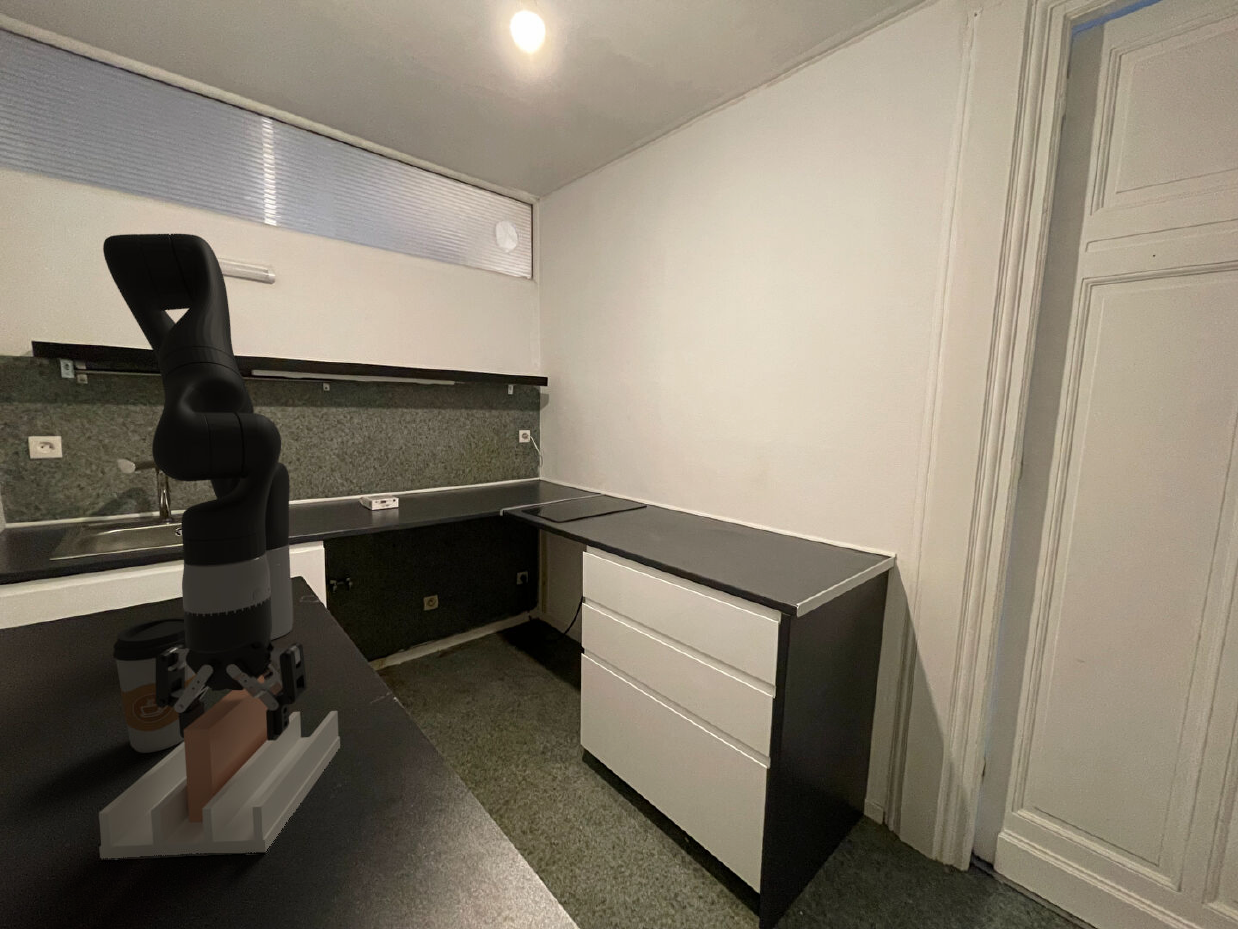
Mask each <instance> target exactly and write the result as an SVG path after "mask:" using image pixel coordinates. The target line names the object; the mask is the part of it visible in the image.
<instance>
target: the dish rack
mask: <svg viewBox="0 0 1238 929" xmlns="http://www.w3.org/2000/svg"><path fill="white" fill-rule="evenodd" d="M338 712H339V711H338V710H331V711H329V713H328V714H327V715H326V717H325V718H324V719H323V720H322V721H321V723H320V724H319V725H318V727H317V728H316V729H315V730H314V731H313V733H312V734H311V735H310V736H308V737H307V736H306V737H302V731H301V730H302V729H301V727H302V726H301V724H302V723H301V711H293V712H292V713H291V714H289V725H288V727H287V728H286V730H285V731H284V732H283V733H282V734H281V735H280V736H279V737H278V739H277V740H274V741H268V740H267V741H266V742H265V743H264V744H263V745H262V746H261V747H260V748H259V749H258V750H257V751H256V752H255V753H254V754H253V756H252V757H251V758H250V759H249V760H248V761H247V762H246V763H245V764H244V765H243V766H242V767H241V768H240V769H239V770H238V771H237V773H236V774H235V775H234V776H233V777H232V778H231V779H230V780H229V781H228V782H227V783H226V784H225V785H224V786H223V787H222V788H221V790H220V791H219V792H218V793H217V794H216V795H215V796H214V797H213V798H212V799H211V800H210V801H209V802H208V803H207V804H206V806H205V807H204V808H203V809H202V814H203V822H189V809H188V793H187V777H186V760H185V744H184V741H182V742H181V743H179V745H178V746H177V747H175V748H174V749H173V750H172V751H171V752H169V754H167V755H166V756H165V757H163V759H161V760H160V761H158V763H156V764H155V765H154V766H153V767H152V768H150V769H149V770H148V771H147V772H146V773H144V774H143V775H141V777H140V778H138V779H137V780H136V781H135V782H134V783H132V785H130V786H129V787H128V788H126V790H124V791H123V792H122V793H121V794H119V796H117V797H115V799H113V801H112V802H110V803H109V804H108V805H106V806H105V807H104V808H103V809H101V811H99V812H98V821H99V830H100V831H99V832H100V845H99V848H98V849H99V859H100V858H102V859H103V858H104V859H105V858H108V859H109V858H110V859H111V858H123V857H124V858H125V857H126V858H127V857H140V856H154V855H155V856H156V855H157V856H158V855H162V856H163V855H164V856H165V855H178V854H179V855H180V854H189V853H190V854H191V853H192V854H196V853H199V854H200V853H202V854H203V853H246V852H247V853H248V852H249V853H250V852H252V853H254V852H255V853H256V852H266V851H267V849H268V848H269V846H271V847H272V845H273V844H274V842H275V841H276V840H275V839H277V838H278V837H279V835H280V834H281V833H282V831H283V830H282V828H283V829H284V828H285V827H286V825H287V824H286V822H287V823H288V822H289V821H290V820H289V818H290V817H291V816H292V817H293V816H294V814H295V812H296V811H297V810H298V808H299V807H300V805H301V804H302V803H303V801H304V800H305V798H306V797H307V795H308V794H309V792H310V791H311V790H312V788H313V787H314V786H315V784H316V782H317V781H318V780H319V778H320V777H321V776H322V774H323V773H324V771H325V770H324V769H326V768H327V767H328V765H329V764H330V763H329V762H331V761H332V760H333V758H334V757H335V755H336V754H337V753H338V751H339V750H340V748H341V736H339V718H338V716H339V713H338ZM338 749H339V750H338ZM336 752H337V753H336ZM300 803H301V804H300ZM296 809H297V810H296ZM293 813H294V814H293ZM292 817H291V818H292ZM291 818H290V819H291ZM288 820H289V821H288ZM285 824H286V825H285ZM284 826H285V827H284ZM281 830H282V831H281ZM279 833H280V834H279ZM278 834H279V835H278ZM277 836H278V837H277ZM276 837H277V838H276ZM274 840H275V841H274ZM273 841H274V842H273ZM272 843H273V844H272ZM271 844H272V845H271ZM269 849H270V848H269ZM269 849H268V850H269ZM267 852H268V851H267ZM267 852H266V853H267Z"/></svg>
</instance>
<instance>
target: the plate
mask: <svg viewBox="0 0 1238 929" xmlns="http://www.w3.org/2000/svg"><path fill="white" fill-rule="evenodd" d="M257 680H258V682H260V683H263V682H264V677H263V676H262V675H261V676H260V677H259V678H258V679H257ZM267 710H268V708H267V707H266V706H265V704H264V703H263V702H262V701H261V700H260V699H259V698H257V697H256V698H254V697H252V696H251V695H250V694H249V693H248V692H247V691H246V689H245V688H244V689H243V690H231V691H229V693H227V694H226V695H225V696H224V697H222V698H221V699H220V700H218V701H217V702H216V703H215V704H214V705H212V706H211V707H210V708H209V709H207V710H206V711H205V713H204V714H203V715H201V716H200V717H199V718H198V719H197V720H195V721H194V722H193V723H192V724H190V725H189V726H188V727H187V728H185V729H184V740H183V742H184V744H185V760H186V777H187V793H188V809H189V822H203V814H202V809H203V808H204V807H205V806H206V804H207V803H208V802H209V801H210V800H211V799H212V798H213V797H214V796H215V795H216V794H217V793H218V792H219V791H220V790H221V788H222V787H223V786H224V785H225V784H226V783H227V782H228V781H229V780H230V779H231V778H232V777H233V776H234V775H235V774H236V773H237V771H238V770H239V769H240V768H241V767H242V766H243V765H244V764H245V763H246V762H247V761H248V760H249V759H250V758H251V757H252V756H253V754H254V753H255V752H256V751H257V750H258V749H259V748H260V747H261V746H262V745H263V744H264V743H265V742H266V741H267V722H266V711H267Z"/></svg>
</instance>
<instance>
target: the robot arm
mask: <svg viewBox="0 0 1238 929" xmlns="http://www.w3.org/2000/svg"><path fill="white" fill-rule="evenodd" d="M102 250H103V251H102V252H103V257H104V260H105V263H106V265H107V268H108V271H109V273H110V275H111V278H112V280H113V281H114V283H115V285H116V287H117V289H118V292H119V293H120V294H121V297H122V298H123V300H124V301H125V304H126V305H127V307H128V309H129V311H130V312H131V314H132V316H133V317H134V320H135V321H136V322H137V325H138V327H139V328H140V330H141V331H142V334H144V337H145V339H146V340H147V342H148V344H149V346H150V348H151V349H152V351H153V354H154V355H155V357H156V360H157V362H158V368H159V373H160V376H161V377H160V378H161V382H162V387H163V391H164V404H163V409H162V413H161V415H160V417H159V420H158V423H157V425H156V429H155V431H154V435H153V439H152V444H151V445H152V448H151V450H152V458H153V460H154V463H155V465H156V467H157V468H158V470H160V472H161V473H163V474H164V475H166V476H167V477H168V478H170V479H173V480H175V481H180V482H200V481H201V482H202V481H210V483H211V486H212V489H213V492H214V495H215V497H216V499H212V500H208V501H204V502H200V503H196V504H194V505H192V506H189V507H188V508H186V509H185V510H184V512H183V513H182V517H181V522H180V523H181V536H182V552H183V572H182V580H181V588H182V589H181V594H182V606H183V610H182V611H183V617H184V628H185V644H186V646H187V648H188V649H185V648H184V646H183V645H180V644H178V645H175V646H174V647H172V648H170V649H168V650H166V651H165V652H163V653H162V654H160V655H158V656H157V657H156V705H157V706H158V707H160V708H163V707H166V706H170V707H174V709H175V711H176V712H178V713H179V728H180V735H181V737H182V738H184V729H185V728H187V727H188V726H189V725H190V724H192V723H193V722H194V721H195V720H197V719H198V718H199V717H200V716H201V715H203V714H204V713H205V712H206V711H205V701H200V700H201V699H202V698H203V696H204V695H205V694H206V693H207V691H208V690H209V688H210V689H211V691H212V692H214V691H215V692H217V691H218V692H219V691H223V690H231V691H232V690H243V689H244V688H245V689H246V691H247V692H248V693H249V694H250V695H251V696H252V697H254V698H256V697H257V698H259V699H260V700H261V701H262V702H263V703H264V704H265V706H266V707H267V708H268V710H267V711H266V722H267V740H268V741H274V740H277V739H278V737H279V736H280V735H281V734H282V733H283V732H284V731H285V730H286V728H287V727H288V725H289V716H290V709H289V706H290V705H293V704H295V702H296V701H298V699H299V698H300V697H301V696H302V695H303V694H305V692H306V691H307V690H308V686H307V685H308V684H307V676H306V675H307V674H306V667H305V666H306V665H305V654H304V648H303V644H301V643H300V642H294V643H293V644H292V645H291V646H287V647H275V646H274V645H273V642H272V640H275V639H278V638H281V637H283V636H285V635H287V634H288V633H290V632H291V631H292V629H293V624H294V603H293V602H294V601H293V600H294V598H293V579H292V578H291V561H290V560H291V558H290V489H291V488H290V486H291V485H290V483H291V482H290V475H289V470H288V469H287V467H286V465H285V464H284V463H282V462H279V459H280V456H281V450H282V437H281V433H280V431H279V429H278V427H277V426H276V424H275V422H273V421H272V420H271V419H270V418H269V417H267V416H266V415H264V414H261V413H257V412H255V409H254V405H253V401H252V398H251V396H250V392H249V390H248V387H247V383H246V382H245V379H244V377H243V376H242V374H241V373H240V370H239V367H238V364H237V361H236V358H235V352H234V350H233V349H234V348H233V343H232V333H231V332H232V331H231V316H230V306H229V298H228V294H227V293H228V292H227V287H226V283H225V277H224V275H223V270H222V268H221V266H220V262H219V261H218V258H217V256H216V254H215V251H214V250H213V248H212V247H211V246H210V244H209V243H208V241H207V240H205V238H203V237H201V236H199V235H196V234H191V233H139V234H138V233H131V234H129V233H128V234H125V233H124V234H114V235H110V236H108V237H106V238H105V239H104V242H103V248H102ZM176 310H186V311H185V313H183V315H182V316H181V317H180V318H179V319H178V320H177V321H175V320H174V319H172V317H171V316H170V315H169V314H168V313H167V312H168V311H176ZM272 661H274V663H275V664H276V666H275V667H276V668H275V667H274V666H273V665H272V664H271V663H272ZM186 665H188V666H189V667H190V668H191V669H192V670H193V672H194V673H195V674H196V676H195V677H194V679H193V680H192V681H191V682H190V684H189V685H188V686H187V688H186V689H185V666H186ZM277 670H280V673H279V672H278V671H277ZM261 675H262V676H263V677H264V682H263V683H260V682H258V680H257V679H258V678H259V677H260V676H261Z"/></svg>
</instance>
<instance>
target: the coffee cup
mask: <svg viewBox="0 0 1238 929" xmlns="http://www.w3.org/2000/svg"><path fill="white" fill-rule="evenodd" d="M116 638H117V639H116V642H115V643H114V644H113V646H112V647H113V651H112V652H113V653H112V656H113V657H112V658H114V659H115V662H116V667H117V668H116V669H117V672H118V673H117V675H118V679H119V685H120V688H119V690H120V696H121V697H120V698H121V702H122V708H123V714H124V720H125V723H126V725H127V726H126V727H127V730H128V732H127V733H128V737H129V738H128V739H129V742H130V743H129V745H130V746H131V748H133V749H134V750H135V751H136V752H137V753H144V754H145V753H154V752H158V751H162V750H165V749H169V748H171V747H174V746H177V745H178V744H181V743H183V742H184V738H182V737H181V735H180V728H179V713H178V712H176V711H175V709H174V707H170V706H166V707H163V708H160V707H158V706H157V705H156V657H157V656H158V655H160V654H162V653H163V652H165V651H166V650H168V649H170V648H172V647H174V646H175V645H178V644H180V645H183V646H184V648H185V649H188V648H187V646H186V644H185V628H184V616H183V617H182V616H176V617H175V616H174V617H165V618H157V619H153V620H149V621H144V622H142V623H139V624H135V625H132V626H130V627H128V628H126V629H123V630H122V631H120V632H119V634H117V637H116ZM195 676H196V674H195V673H194V672H193V670H192V669H191V668H190V667H189V666H188V665H186V666H185V689H186V688H187V686H188V685H189V684H190V682H191V681H192V680H193V679H194V677H195Z"/></svg>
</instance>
